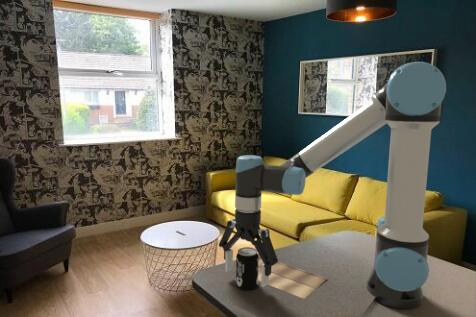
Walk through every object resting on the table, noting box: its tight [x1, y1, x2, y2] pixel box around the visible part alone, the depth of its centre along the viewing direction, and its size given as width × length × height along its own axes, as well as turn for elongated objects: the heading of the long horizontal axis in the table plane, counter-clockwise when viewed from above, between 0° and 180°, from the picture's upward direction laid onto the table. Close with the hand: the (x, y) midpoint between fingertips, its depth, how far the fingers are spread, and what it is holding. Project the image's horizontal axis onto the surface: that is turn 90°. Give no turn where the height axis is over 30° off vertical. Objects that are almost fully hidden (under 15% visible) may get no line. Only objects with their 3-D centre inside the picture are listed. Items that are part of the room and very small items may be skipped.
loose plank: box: [258, 258, 328, 290], centre depth 116 cm, size 24×7×1 cm, turn 51°
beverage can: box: [235, 246, 260, 292], centre depth 107 cm, size 7×7×12 cm
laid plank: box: [258, 268, 317, 300], centre depth 111 cm, size 24×7×1 cm, turn 51°
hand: (246, 277), depth 108 cm, fingers open, 13 cm apart
